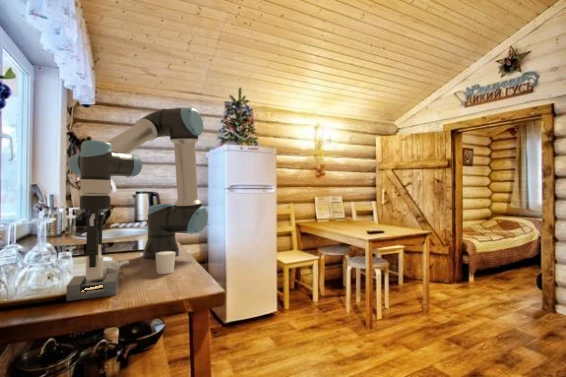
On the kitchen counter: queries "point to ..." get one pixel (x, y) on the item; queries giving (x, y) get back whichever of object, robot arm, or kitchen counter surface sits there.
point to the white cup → (165, 262)
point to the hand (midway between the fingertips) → (94, 275)
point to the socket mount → (80, 284)
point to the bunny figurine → (111, 268)
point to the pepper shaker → (99, 264)
